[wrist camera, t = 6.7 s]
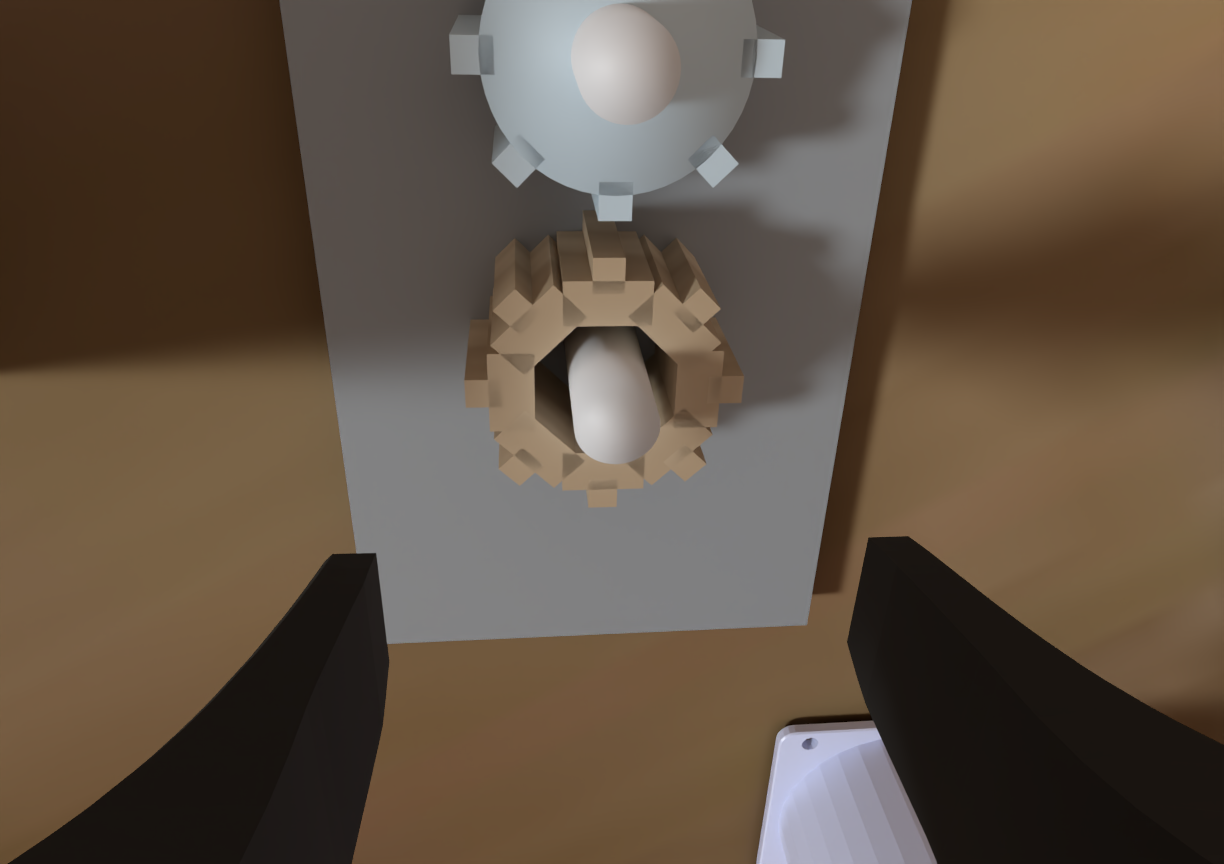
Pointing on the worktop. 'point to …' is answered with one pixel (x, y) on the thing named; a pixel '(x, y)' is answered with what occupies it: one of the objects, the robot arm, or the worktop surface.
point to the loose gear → (598, 296)
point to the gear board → (445, 277)
